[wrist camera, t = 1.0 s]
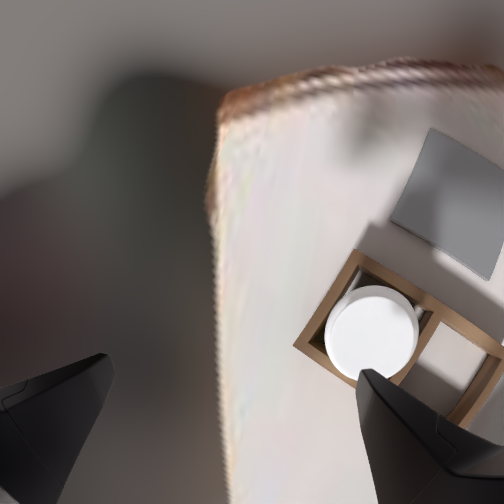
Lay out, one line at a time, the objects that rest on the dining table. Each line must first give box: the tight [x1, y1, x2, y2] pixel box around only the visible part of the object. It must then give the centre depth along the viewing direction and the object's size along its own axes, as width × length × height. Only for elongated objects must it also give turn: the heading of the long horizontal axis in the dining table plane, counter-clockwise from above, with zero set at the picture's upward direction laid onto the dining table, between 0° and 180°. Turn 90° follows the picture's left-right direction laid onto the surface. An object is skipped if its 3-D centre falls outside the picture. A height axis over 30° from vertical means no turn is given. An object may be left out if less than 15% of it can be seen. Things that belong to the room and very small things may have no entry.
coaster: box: [390, 128, 504, 281], centre depth 18 cm, size 10×10×1 cm
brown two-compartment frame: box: [293, 249, 504, 429], centre depth 17 cm, size 15×8×3 cm, turn 56°
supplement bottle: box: [325, 285, 419, 381], centre depth 15 cm, size 5×5×10 cm
